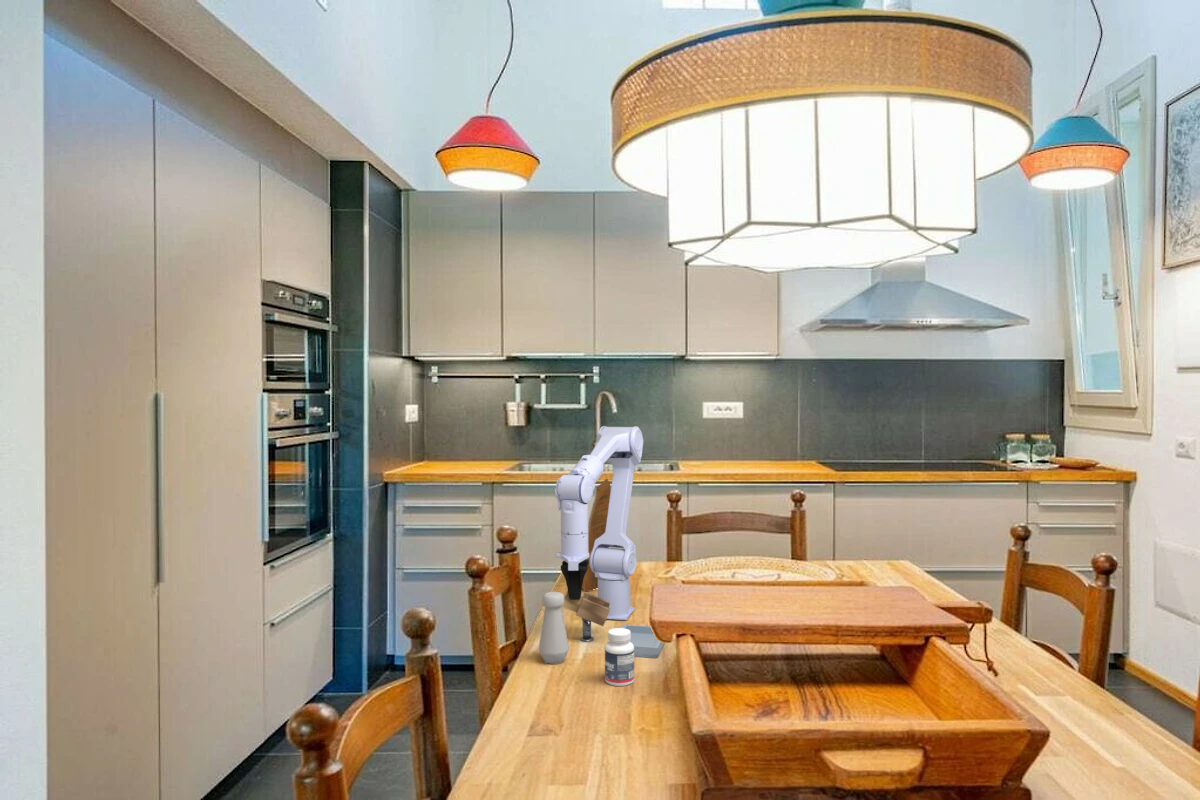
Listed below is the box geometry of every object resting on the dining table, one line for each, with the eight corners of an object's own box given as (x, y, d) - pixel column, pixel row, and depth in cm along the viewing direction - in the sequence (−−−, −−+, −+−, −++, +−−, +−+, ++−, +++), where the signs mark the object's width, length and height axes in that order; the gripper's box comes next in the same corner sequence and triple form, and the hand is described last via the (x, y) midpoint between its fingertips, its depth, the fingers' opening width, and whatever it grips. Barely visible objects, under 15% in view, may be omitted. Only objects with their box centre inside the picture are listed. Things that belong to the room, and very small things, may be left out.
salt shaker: (571, 655, 141) (570, 589, 141) (567, 666, 136) (566, 597, 136) (541, 654, 142) (541, 588, 142) (536, 665, 136) (535, 596, 136)
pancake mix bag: (619, 577, 204) (618, 478, 204) (599, 594, 186) (598, 486, 186) (596, 575, 206) (595, 477, 206) (574, 592, 188) (573, 485, 188)
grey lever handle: (582, 637, 152) (582, 614, 152) (604, 638, 151) (604, 615, 151) (579, 641, 150) (579, 618, 150) (601, 642, 149) (600, 619, 149)
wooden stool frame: (603, 617, 154) (609, 602, 154) (603, 626, 148) (609, 610, 148) (562, 600, 154) (569, 585, 154) (560, 608, 148) (567, 592, 148)
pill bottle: (600, 677, 130) (600, 628, 130) (627, 673, 132) (627, 625, 132) (611, 688, 125) (610, 637, 125) (639, 684, 127) (638, 633, 127)
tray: (624, 633, 154) (624, 624, 154) (668, 636, 152) (667, 627, 152) (610, 654, 142) (609, 644, 142) (657, 658, 140) (657, 648, 139)
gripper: (558, 526, 158) (558, 588, 158) (552, 539, 144) (553, 607, 144) (590, 526, 158) (590, 588, 158) (588, 538, 143) (588, 607, 143)
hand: (575, 597), depth 151 cm, fingers closed on wooden stool frame, 2 cm apart
